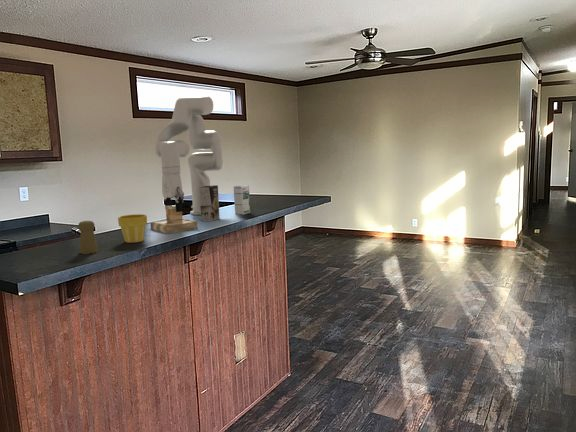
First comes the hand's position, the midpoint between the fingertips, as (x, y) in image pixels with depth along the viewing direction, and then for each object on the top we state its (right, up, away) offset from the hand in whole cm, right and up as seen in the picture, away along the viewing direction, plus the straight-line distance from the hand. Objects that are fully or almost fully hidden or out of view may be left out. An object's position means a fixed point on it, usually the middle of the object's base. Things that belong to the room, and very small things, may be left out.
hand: (174, 210), depth 206 cm
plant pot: (-10, -12, -22) cm, 27 cm away
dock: (-1, -8, +2) cm, 8 cm away
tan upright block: (0, -5, 0) cm, 5 cm away
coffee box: (+12, -4, +24) cm, 27 cm away
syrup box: (+26, -1, +39) cm, 47 cm away
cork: (-20, -15, -39) cm, 47 cm away
